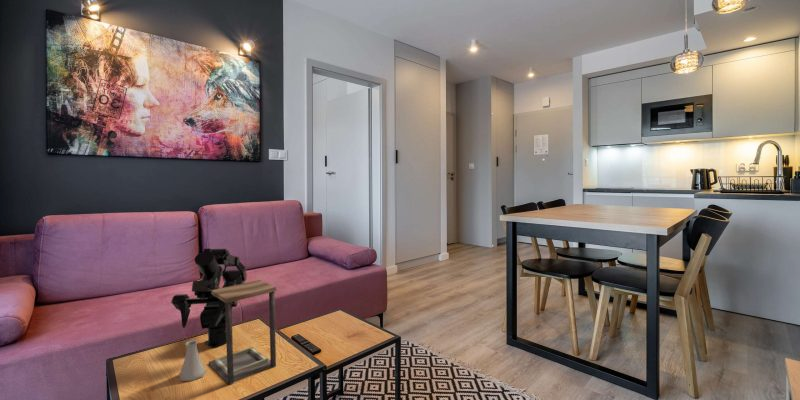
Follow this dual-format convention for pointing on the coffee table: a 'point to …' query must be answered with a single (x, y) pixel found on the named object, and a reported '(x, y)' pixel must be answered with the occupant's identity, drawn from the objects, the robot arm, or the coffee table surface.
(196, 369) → the flask
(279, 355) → the coffee table surface
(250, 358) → the wooden top side table
